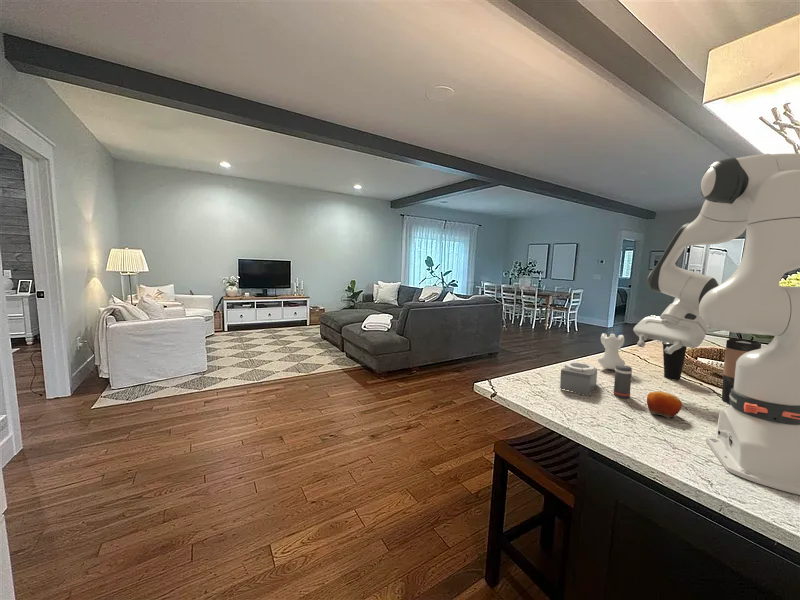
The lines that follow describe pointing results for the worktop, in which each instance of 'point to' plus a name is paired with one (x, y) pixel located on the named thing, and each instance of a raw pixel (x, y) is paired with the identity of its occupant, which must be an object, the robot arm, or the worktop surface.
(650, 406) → the fruit
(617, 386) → the lens
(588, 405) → the worktop surface
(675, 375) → the drinking cup
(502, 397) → the worktop surface
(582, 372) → the grey block with hole
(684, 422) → the worktop surface
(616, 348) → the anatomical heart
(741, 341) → the travel mug
